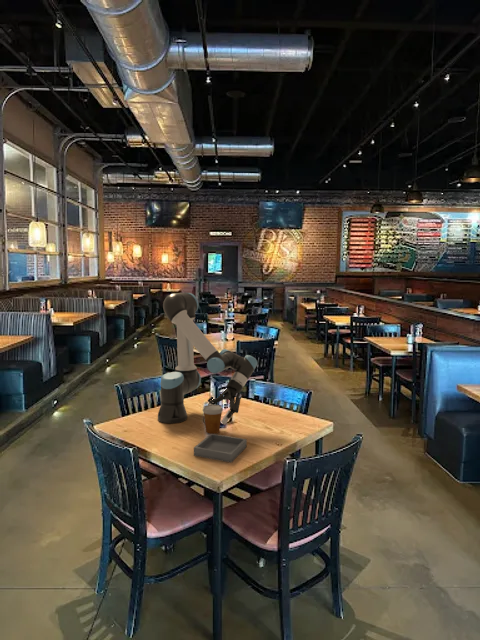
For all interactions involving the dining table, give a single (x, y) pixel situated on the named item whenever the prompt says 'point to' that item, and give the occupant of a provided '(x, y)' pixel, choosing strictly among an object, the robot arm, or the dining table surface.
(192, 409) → the dining table surface
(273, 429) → the dining table surface
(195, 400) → the dining table surface
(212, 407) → the disposable coffee cup
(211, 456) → the tray
